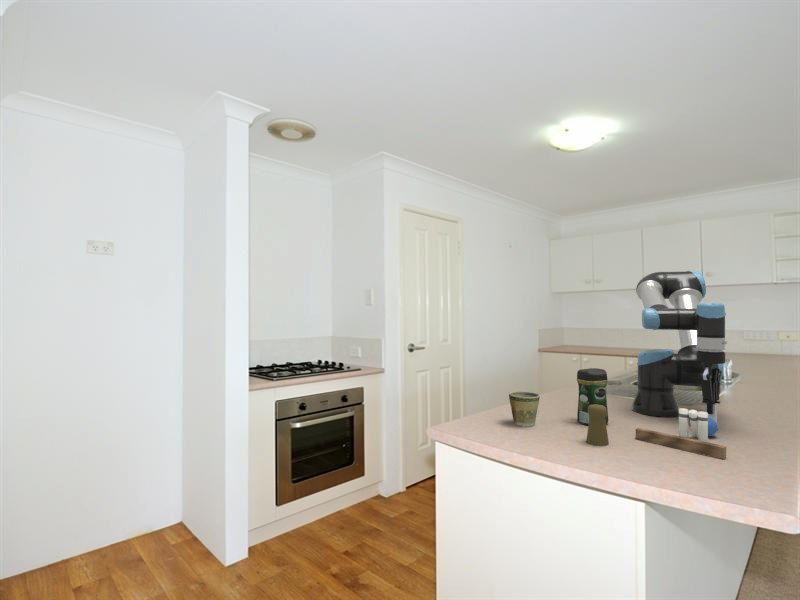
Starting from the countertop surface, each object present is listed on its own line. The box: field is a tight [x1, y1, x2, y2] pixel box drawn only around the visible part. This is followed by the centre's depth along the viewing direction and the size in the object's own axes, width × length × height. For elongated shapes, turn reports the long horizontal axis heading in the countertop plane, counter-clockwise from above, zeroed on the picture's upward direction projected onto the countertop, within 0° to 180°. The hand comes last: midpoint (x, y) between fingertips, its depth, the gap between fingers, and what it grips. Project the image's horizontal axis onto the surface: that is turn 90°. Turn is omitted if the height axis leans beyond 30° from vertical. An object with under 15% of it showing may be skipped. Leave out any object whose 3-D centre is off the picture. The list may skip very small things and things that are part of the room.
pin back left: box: [678, 407, 689, 438], centre depth 132 cm, size 2×2×9 cm
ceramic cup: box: [508, 391, 541, 428], centre depth 148 cm, size 13×10×10 cm
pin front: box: [688, 409, 698, 439], centre depth 132 cm, size 2×2×9 cm
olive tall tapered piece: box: [586, 404, 610, 447], centre depth 127 cm, size 6×6×11 cm
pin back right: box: [697, 410, 709, 443], centre depth 128 cm, size 2×2×9 cm
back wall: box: [635, 427, 727, 460], centre depth 123 cm, size 22×2×3 cm, turn 39°
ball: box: [708, 417, 719, 437], centre depth 134 cm, size 6×6×6 cm
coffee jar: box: [576, 367, 609, 426], centre depth 149 cm, size 10×8×19 cm
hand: (711, 423), depth 141 cm, fingers closed
